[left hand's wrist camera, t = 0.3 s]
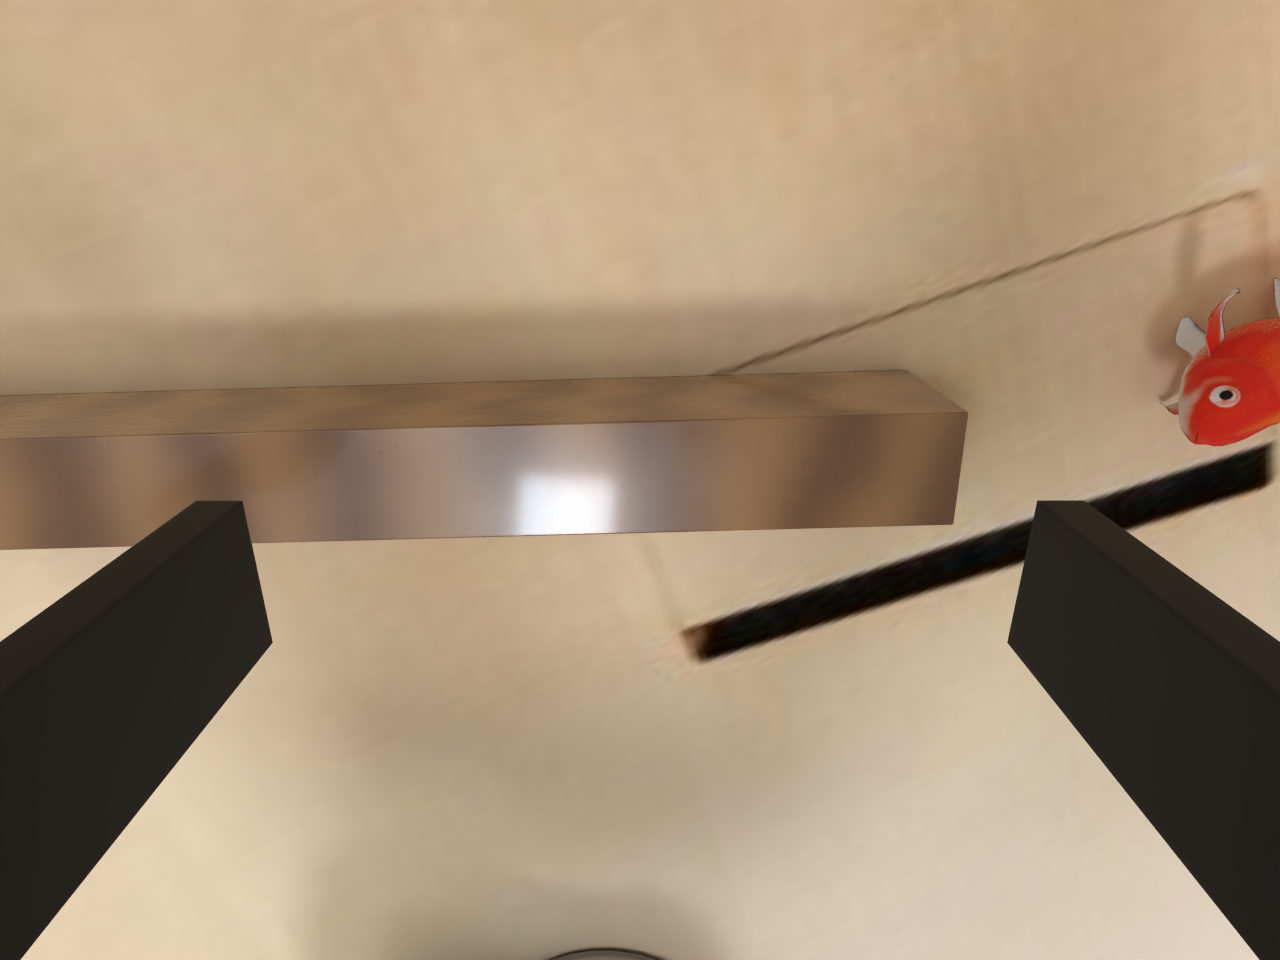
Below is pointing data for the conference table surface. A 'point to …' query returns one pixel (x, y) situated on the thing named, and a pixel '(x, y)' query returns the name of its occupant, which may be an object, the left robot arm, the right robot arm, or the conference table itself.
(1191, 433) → the fish
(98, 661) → the left robot arm
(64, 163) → the conference table surface
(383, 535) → the post
